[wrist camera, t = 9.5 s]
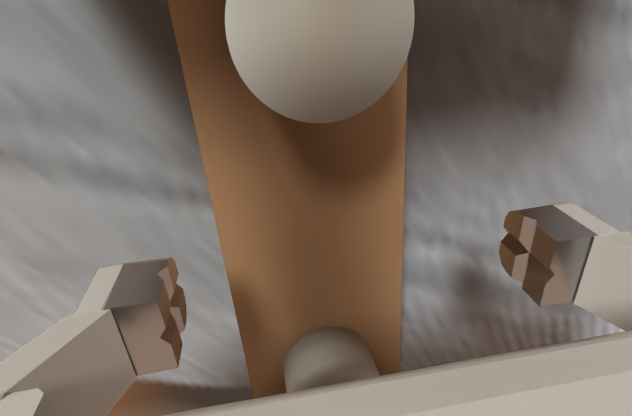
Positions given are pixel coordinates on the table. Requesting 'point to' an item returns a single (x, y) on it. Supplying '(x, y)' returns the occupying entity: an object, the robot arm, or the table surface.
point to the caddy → (305, 176)
